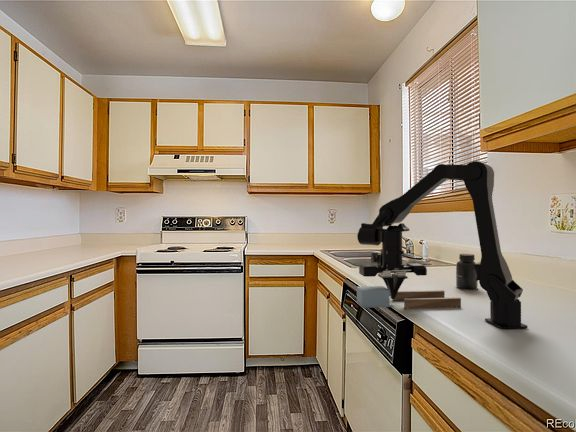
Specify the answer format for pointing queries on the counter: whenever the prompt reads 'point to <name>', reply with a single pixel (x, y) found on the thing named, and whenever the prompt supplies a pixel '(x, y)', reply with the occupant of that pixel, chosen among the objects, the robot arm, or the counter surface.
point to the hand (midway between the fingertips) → (392, 298)
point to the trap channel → (427, 299)
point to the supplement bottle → (466, 272)
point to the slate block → (373, 296)
